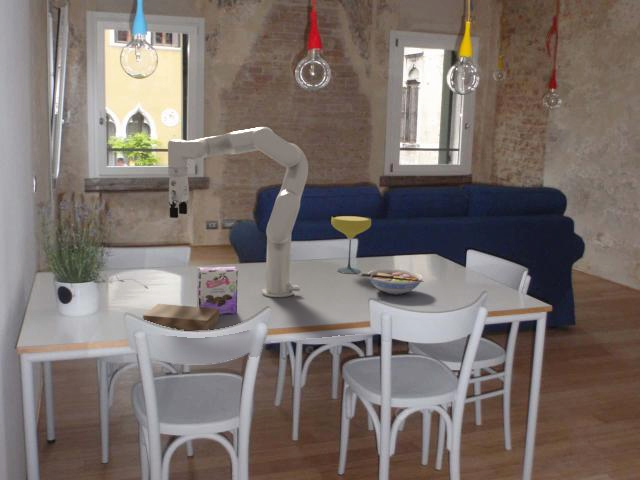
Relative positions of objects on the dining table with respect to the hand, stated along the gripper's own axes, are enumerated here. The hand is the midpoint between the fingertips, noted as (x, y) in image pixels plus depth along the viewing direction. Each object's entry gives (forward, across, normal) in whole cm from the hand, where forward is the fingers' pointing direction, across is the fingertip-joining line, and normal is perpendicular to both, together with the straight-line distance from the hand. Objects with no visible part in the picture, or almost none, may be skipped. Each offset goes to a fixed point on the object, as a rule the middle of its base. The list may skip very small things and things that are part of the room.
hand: (178, 215), depth 277 cm
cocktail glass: (+31, +55, -61) cm, 88 cm away
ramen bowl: (+31, +24, -84) cm, 93 cm away
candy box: (+31, -24, -23) cm, 45 cm away
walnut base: (+30, -39, -16) cm, 52 cm away
